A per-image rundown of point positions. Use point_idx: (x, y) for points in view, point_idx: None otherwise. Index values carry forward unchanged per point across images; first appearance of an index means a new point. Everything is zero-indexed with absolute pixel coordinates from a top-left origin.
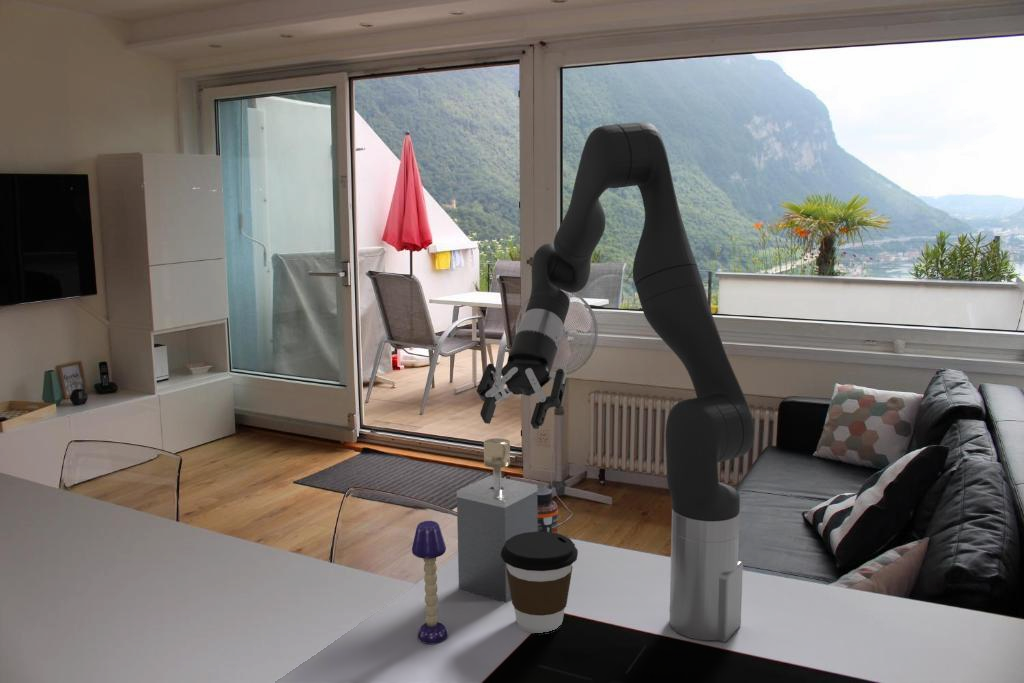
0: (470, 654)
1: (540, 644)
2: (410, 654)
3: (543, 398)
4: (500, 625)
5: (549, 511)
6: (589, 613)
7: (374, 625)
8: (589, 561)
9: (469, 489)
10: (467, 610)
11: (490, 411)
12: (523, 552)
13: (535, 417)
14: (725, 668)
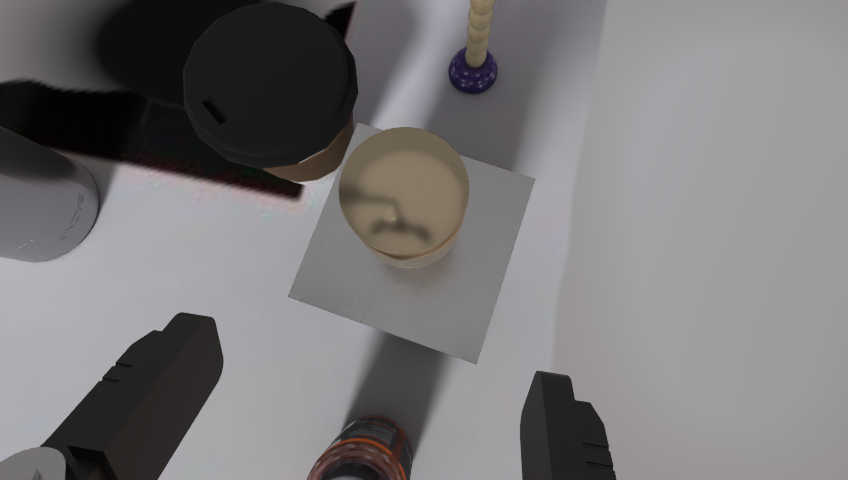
0: (398, 39)
1: None
2: None
3: (2, 474)
4: None
5: (320, 457)
6: (236, 205)
7: (578, 81)
8: (259, 438)
9: (499, 200)
10: None
11: (535, 461)
12: (291, 23)
13: (164, 335)
14: (28, 91)
